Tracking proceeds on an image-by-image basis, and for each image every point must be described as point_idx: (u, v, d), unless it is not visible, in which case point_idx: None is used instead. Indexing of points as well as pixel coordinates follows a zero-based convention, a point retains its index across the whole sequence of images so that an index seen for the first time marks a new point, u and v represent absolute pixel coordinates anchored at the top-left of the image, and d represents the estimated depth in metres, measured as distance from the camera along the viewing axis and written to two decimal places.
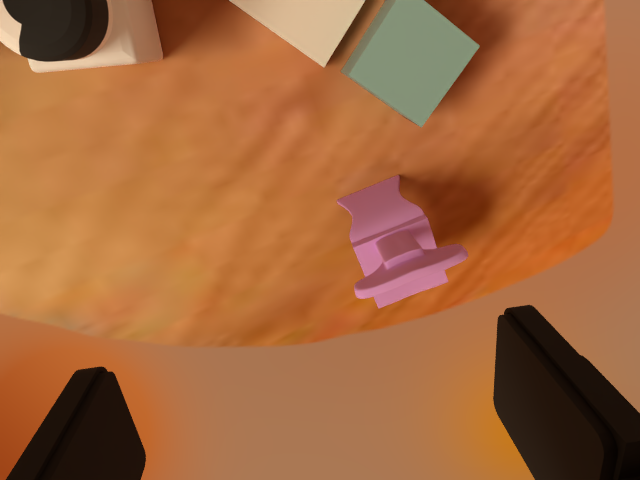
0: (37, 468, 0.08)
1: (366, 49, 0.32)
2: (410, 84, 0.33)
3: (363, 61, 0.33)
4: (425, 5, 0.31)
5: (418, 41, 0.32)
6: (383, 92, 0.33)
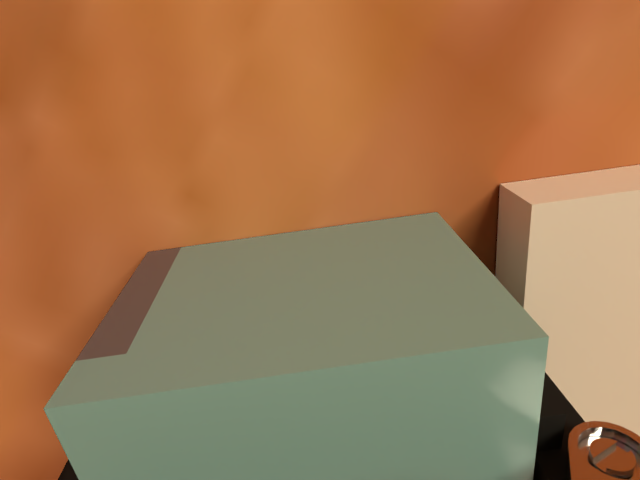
0: None
1: (530, 447, 0.07)
2: None
3: (516, 415, 0.07)
4: None
5: None
6: (344, 392, 0.06)
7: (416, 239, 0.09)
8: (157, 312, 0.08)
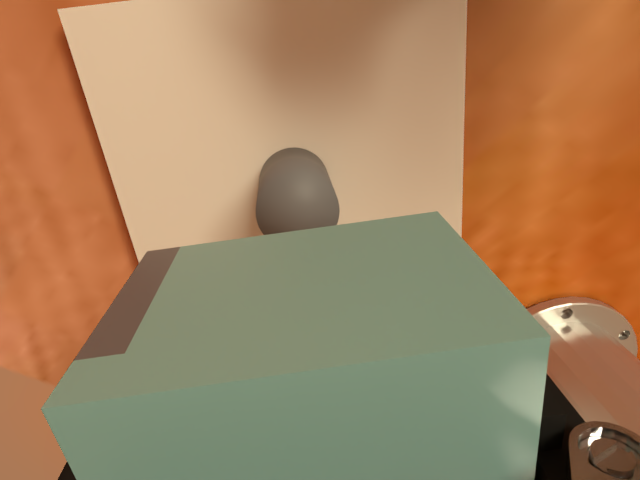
0: None
1: (531, 448, 0.07)
2: None
3: (517, 415, 0.07)
4: None
5: None
6: (344, 392, 0.06)
7: (416, 238, 0.09)
8: (156, 311, 0.08)
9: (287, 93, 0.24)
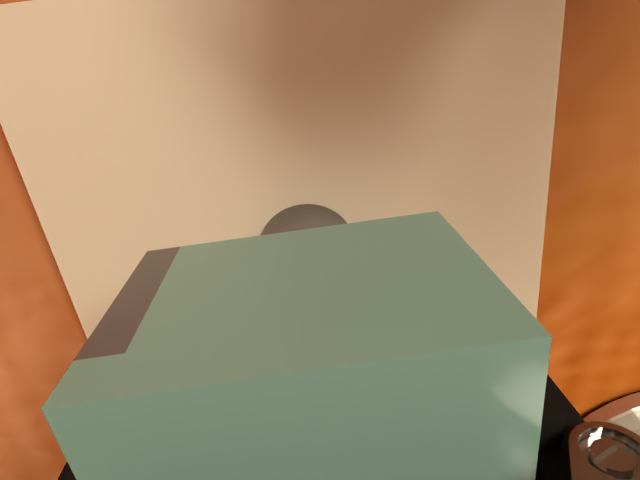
0: None
1: (532, 448, 0.07)
2: None
3: (518, 415, 0.07)
4: None
5: None
6: (344, 391, 0.06)
7: (417, 238, 0.09)
8: (156, 311, 0.08)
9: (298, 129, 0.16)
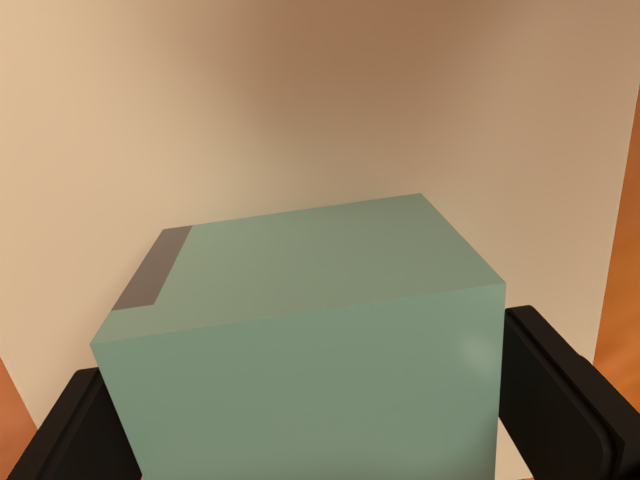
0: (38, 468, 0.08)
1: (495, 382, 0.08)
2: (271, 412, 0.08)
3: (482, 352, 0.08)
4: None
5: None
6: (338, 330, 0.08)
7: (401, 214, 0.11)
8: (177, 274, 0.09)
9: (295, 150, 0.12)
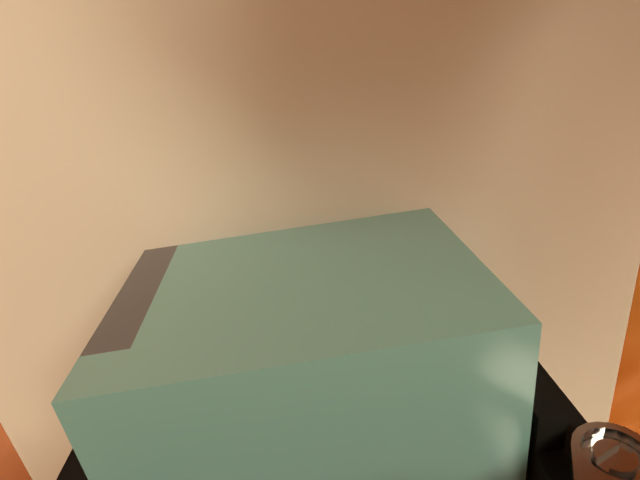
0: None
1: (524, 432, 0.07)
2: (269, 471, 0.07)
3: (511, 400, 0.07)
4: None
5: None
6: (346, 380, 0.06)
7: (410, 234, 0.10)
8: (158, 308, 0.08)
9: (297, 161, 0.11)
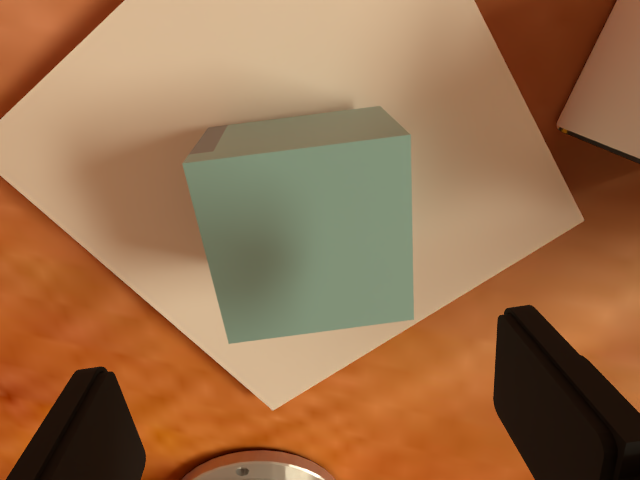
0: (37, 468, 0.08)
1: (409, 200, 0.15)
2: (280, 213, 0.14)
3: (399, 179, 0.14)
4: (362, 322, 0.17)
5: (331, 278, 0.16)
6: (317, 161, 0.14)
7: (363, 115, 0.17)
8: (223, 142, 0.15)
9: None
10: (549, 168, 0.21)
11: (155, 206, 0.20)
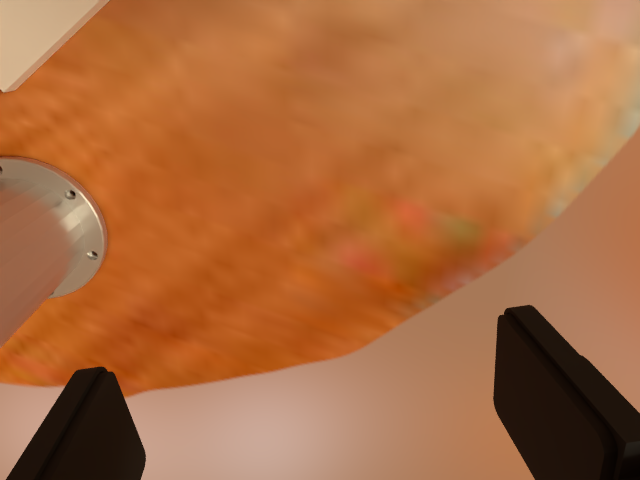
0: (37, 468, 0.08)
1: None
2: None
3: None
4: None
5: None
6: None
7: None
8: None
9: None
10: None
11: None
